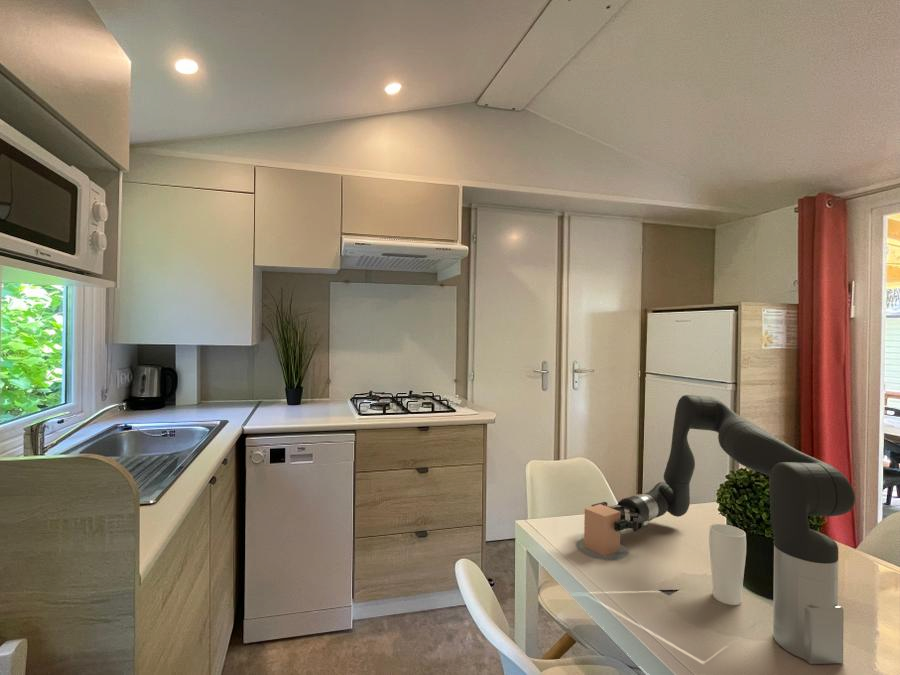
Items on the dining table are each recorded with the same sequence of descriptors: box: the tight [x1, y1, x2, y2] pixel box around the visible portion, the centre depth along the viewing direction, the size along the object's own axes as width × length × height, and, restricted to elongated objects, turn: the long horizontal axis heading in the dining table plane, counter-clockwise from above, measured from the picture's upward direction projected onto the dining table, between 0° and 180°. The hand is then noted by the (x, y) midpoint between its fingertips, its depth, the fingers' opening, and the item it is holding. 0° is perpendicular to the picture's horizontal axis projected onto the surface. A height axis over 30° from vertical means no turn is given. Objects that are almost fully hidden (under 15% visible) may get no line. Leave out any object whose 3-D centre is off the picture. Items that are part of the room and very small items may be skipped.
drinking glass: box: [708, 523, 747, 606], centre depth 96 cm, size 7×7×15 cm
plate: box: [575, 538, 629, 561], centre depth 118 cm, size 13×13×1 cm
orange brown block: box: [583, 504, 621, 556], centre depth 118 cm, size 6×6×10 cm
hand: (601, 521), depth 118 cm, fingers open, 8 cm apart
